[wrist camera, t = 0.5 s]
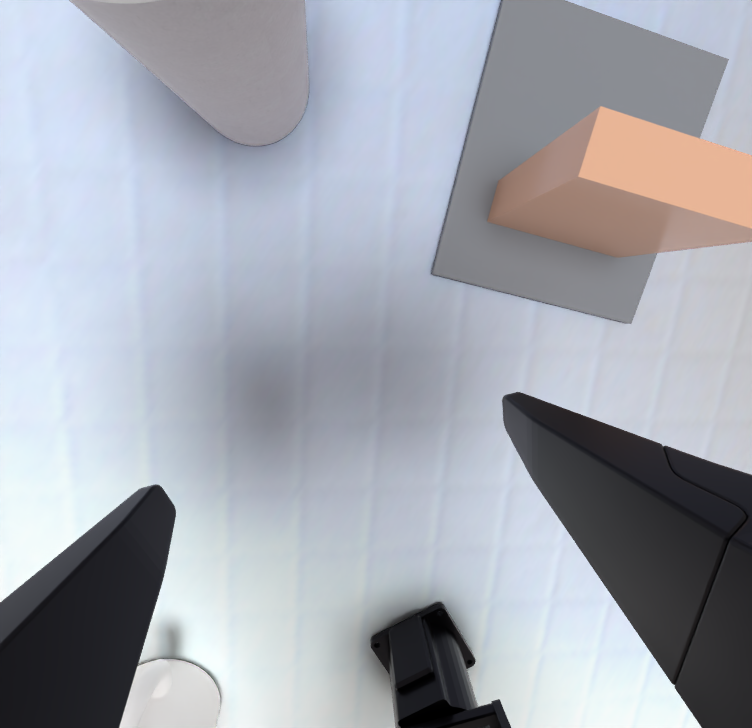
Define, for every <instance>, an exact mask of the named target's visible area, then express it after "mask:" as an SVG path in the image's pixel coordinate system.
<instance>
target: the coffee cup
mask: <svg viewBox="0 0 752 728" xmlns="http://www.w3.org/2000/svg"><path fill="white" fill-rule="evenodd" d="M69 1H71V2H72V3H73V4H74V5H75V6H76V7H77V8H79V9H80V10H81V11H82V12H83V13H84V14H85V15H87V16H88V17H89V18H90V19H91V20H92V21H93V22H95V23H96V24H97V25H98V26H99V27H100V28H101V29H103V30H104V31H105V32H106V33H107V34H108V35H109V36H110V37H112V38H113V39H114V40H115V41H116V42H117V43H118V44H120V45H121V46H122V47H123V48H124V49H125V50H126V51H127V52H129V53H130V54H131V55H132V56H133V57H134V58H135V59H137V60H138V61H139V62H140V63H141V64H142V65H143V66H144V67H146V68H147V69H148V70H149V71H150V72H151V73H152V74H153V75H155V76H156V77H157V78H158V79H159V80H160V81H161V82H162V83H164V84H165V85H166V86H167V87H168V88H169V89H170V90H172V91H173V92H174V93H175V94H176V95H177V96H178V97H179V98H181V99H182V100H183V101H184V102H185V103H186V104H187V105H188V106H190V107H191V108H192V109H193V110H194V111H195V112H196V113H197V114H199V115H200V116H201V117H202V118H203V119H204V120H205V121H206V122H207V123H209V124H210V125H211V126H212V127H213V128H214V129H215V130H217V131H218V132H219V133H220V134H222V135H223V136H225V137H226V138H228V139H230V140H232V141H234V142H237V143H240V144H243V145H249V146H263V145H269V144H272V143H275V142H277V141H279V140H281V139H283V138H284V137H286V136H287V135H288V134H289V133H291V132H292V131H293V130H294V128H295V127H296V126H297V125H298V123H299V122H300V120H301V118H302V116H303V114H304V112H305V109H306V106H307V102H308V96H309V72H308V52H307V33H306V13H305V0H69Z"/></svg>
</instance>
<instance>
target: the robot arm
mask: <svg viewBox="0 0 752 728" xmlns="http://www.w3.org/2000/svg"><path fill="white" fill-rule="evenodd" d="M502 404H503V421H504V426H505V429H506V431H507V433H508V435H509V437H510V438H511V440H512V442H513V444H514V446H515V448H516V450H517V452H518V454H519V455H520V457H521V459H522V461H523V463H524V465H525V467H526V469H527V471H528V472H529V474H530V476H531V478H532V479H533V481H534V483H535V484H536V486H537V487H538V489H539V490H540V492H541V493H542V495H543V496H544V497H545V499H546V500H547V502H548V503H549V505H550V506H551V508H552V509H553V511H554V512H555V514H556V515H557V516H558V518H559V519H560V521H561V522H562V524H563V525H564V527H565V528H566V530H567V531H568V532H569V534H570V535H571V537H572V538H573V540H574V541H575V543H576V544H577V546H578V547H579V549H580V550H581V551H582V553H583V554H584V556H585V557H586V559H587V560H588V562H589V563H590V565H591V566H592V567H593V569H594V570H595V572H596V573H597V575H598V576H599V578H600V579H601V581H602V582H603V584H604V585H605V586H606V588H607V589H608V591H609V592H610V594H611V595H612V597H613V598H614V600H615V601H616V603H617V604H618V605H619V607H620V608H621V610H622V611H623V613H624V614H625V616H626V617H627V619H628V620H629V621H630V623H631V624H632V626H633V627H634V629H635V630H636V632H637V633H638V635H639V636H640V638H641V639H642V640H643V642H644V643H645V645H646V646H647V648H648V649H649V651H650V652H651V654H652V655H653V656H654V658H655V659H656V661H657V662H658V664H659V665H660V667H661V668H662V670H663V671H664V673H665V674H666V675H667V677H668V678H669V680H670V681H671V683H672V684H674V685H675V689H676V690H677V692H678V693H679V695H680V696H681V698H682V699H683V701H684V702H685V704H686V705H687V707H688V708H689V709H690V711H691V712H692V714H693V715H694V717H695V718H696V720H697V721H698V723H699V724H700V726H701V727H702V728H752V475H750V474H747V473H744V472H741V471H738V470H735V469H732V468H728V467H725V466H722V465H719V464H716V463H713V462H710V461H707V460H704V459H702V458H699V457H696V456H693V455H690V454H687V453H684V452H682V451H679V450H676V449H674V448H671V447H668V446H662V444H660V443H657V442H654V441H652V440H649V439H646V438H643V437H641V436H638V435H635V434H632V433H630V432H627V431H624V430H622V429H619V428H616V427H613V426H611V425H608V424H605V423H602V422H600V421H597V420H594V419H592V418H589V417H586V416H583V415H581V414H578V413H575V412H572V411H570V410H567V409H564V408H562V407H559V406H556V405H553V404H551V403H548V402H545V401H542V400H540V399H537V398H534V397H532V396H529V395H526V394H523V393H520V392H516V393H512V394H508V395H505V396H504V397H503V400H502ZM175 517H176V510H175V506H174V505H173V503H172V502H171V500H170V499H169V497H168V496H167V494H166V493H165V491H164V490H163V488H162V487H161V486H159V485H152V486H148V487H144V488H141V489H139V490H138V491H136V492H135V493H134V494H133V495H131V496H130V497H129V498H128V499H127V500H125V501H124V502H123V503H122V504H120V505H119V506H118V507H117V508H116V509H114V510H113V511H112V512H111V513H109V514H108V515H107V516H106V517H105V518H103V519H102V520H101V521H100V522H98V523H97V524H96V525H95V526H94V527H92V528H91V529H90V530H89V531H87V532H86V533H85V534H84V535H83V536H81V537H80V538H79V539H78V540H76V541H75V542H74V543H73V544H71V545H70V546H69V547H68V548H67V549H65V550H64V551H63V552H62V553H60V554H59V555H58V556H57V557H56V558H54V559H53V560H52V561H51V562H49V563H48V564H47V565H46V566H45V567H43V568H42V569H41V570H40V571H38V572H37V573H36V574H35V575H34V576H32V577H31V578H30V579H29V580H27V581H26V582H25V583H24V584H23V585H21V586H20V587H19V588H18V589H16V590H15V591H14V592H13V593H11V594H10V595H9V596H8V597H7V598H5V599H4V600H3V601H2V602H0V728H119V727H120V723H121V720H122V717H123V713H124V710H125V707H126V703H127V700H128V696H129V693H130V690H131V686H132V683H133V680H134V676H135V673H136V669H137V666H138V663H139V659H140V656H141V653H142V649H143V646H144V642H145V639H146V636H147V632H148V629H149V626H150V622H151V619H152V615H153V612H154V609H155V605H156V602H157V599H158V595H159V592H160V588H161V585H162V581H163V578H164V573H165V569H166V564H167V559H168V554H169V549H170V543H171V538H172V533H173V528H174V523H175ZM438 611H440V612H438ZM371 648H372V649H373V651H374V652H375V654H376V655H377V657H378V658H379V660H380V661H381V663H382V664H383V666H384V667H385V669H386V670H387V671H388V673H389V674H390V679H391V689H392V698H393V708H394V717H395V727H396V728H511V726H510V724H509V721H508V719H507V717H506V714H505V712H504V709H503V707H502V704H501V702H500V700H499V699H498V700H495V701H491V702H492V703H491V704H487V705H484V706H480V707H478V705H477V701H476V698H475V695H474V692H473V688H472V685H471V682H470V679H469V675H468V672H467V669H468V668H470V667H472V666H473V665H474V664H475V658H474V655H473V653H472V651H471V650H470V648H469V646H468V645H467V643H466V641H465V640H464V638H463V636H462V635H461V633H460V631H459V630H458V628H457V626H456V625H455V623H454V621H453V620H452V618H451V616H450V615H449V613H448V611H447V610H446V608H445V606H444V605H443V604H436V605H434V606H432V607H430V608H428V609H426V610H424V611H422V612H420V613H418V614H416V615H414V616H412V617H410V618H408V619H406V620H404V621H402V622H400V623H398V624H396V625H394V626H392V627H391V628H389V629H387V630H385V631H383V632H381V633H379V634H377V635H375V636H373V637H372V638H371Z"/></svg>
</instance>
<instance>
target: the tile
mask: <svg viewBox="0 0 752 728" xmlns="http://www.w3.org/2000/svg"><path fill="white" fill-rule="evenodd" d="M487 222H490V223H493V224H497V225H500V226H504V227H508V228H511V229H515V230H519V231H522V232H526V233H530V234H533V235H537V236H540V237H544V238H548V239H551V240H555V241H559V242H562V243H566V244H570V245H573V246H577V247H580V248H584V249H588V250H591V251H595V252H599V253H602V254H606V255H610V256H613V257H617V258H619V257H628V256H636V255H644V254H653V253H661V252H669V251H678V250H686V249H694V248H703V247H711V246H719V245H728V244H736V243H744V242H752V155H749V154H746V153H742V152H739V151H736V150H733V149H730V148H727V147H724V146H721V145H718V144H715V143H712V142H709V141H706V140H703V139H700V138H697V137H694V136H691V135H688V134H684V133H681V132H678V131H675V130H672V129H669V128H666V127H663V126H660V125H657V124H654V123H651V122H648V121H645V120H642V119H639V118H636V117H633V116H629V115H626V114H623V113H620V112H617V111H614V110H611V109H608V108H605V107H602V106H600V107H598V108H597V109H596V110H594V111H593V112H592V113H590V114H589V115H588V116H586V117H585V118H583V119H582V120H581V121H579V122H578V123H577V124H575V125H574V126H573V127H571V128H570V129H569V130H567V131H566V132H564V133H563V134H562V135H560V136H559V137H558V138H556V139H555V140H554V141H552V142H551V143H549V144H548V145H547V146H545V147H544V148H543V149H541V150H540V151H539V152H537V153H536V154H534V155H533V156H532V157H530V158H529V159H528V160H526V161H525V162H524V163H522V164H521V165H519V166H518V167H517V168H515V169H514V170H513V171H511V172H510V173H509V174H507V175H506V176H504V177H503V178H502V179H500V180H499V181H498V184H497V188H496V192H495V195H494V199H493V202H492V206H491V209H490V213H489V217H488V220H487Z"/></svg>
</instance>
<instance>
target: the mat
mask: <svg viewBox="0 0 752 728" xmlns="http://www.w3.org/2000/svg"><path fill="white" fill-rule="evenodd" d="M728 60H729V59H726V58H723V57H721V56H718V55H715V54H712V53H709V52H707V51H704V50H701V49H698V48H696V47H693V46H690V45H687V44H684V43H682V42H679V41H676V40H673V39H671V38H668V37H665V36H662V35H660V34H657V33H654V32H651V31H648V30H646V29H643V28H640V27H637V26H635V25H632V24H629V23H626V22H623V21H621V20H618V19H615V18H612V17H610V16H607V15H604V14H601V13H598V12H596V11H593V10H590V9H587V8H585V7H582V6H579V5H576V4H574V3H571V2H568V1H565V0H501V4H500V8H499V12H498V16H497V20H496V23H495V27H494V31H493V35H492V39H491V43H490V47H489V51H488V55H487V58H486V62H485V66H484V70H483V74H482V78H481V82H480V86H479V90H478V93H477V97H476V101H475V105H474V109H473V113H472V117H471V121H470V124H469V128H468V132H467V136H466V140H465V144H464V148H463V152H462V156H461V159H460V163H459V167H458V171H457V175H456V179H455V183H454V187H453V191H452V194H451V198H450V202H449V206H448V210H447V214H446V218H445V222H444V225H443V229H442V233H441V237H440V241H439V245H438V249H437V253H436V257H435V260H434V264H433V268H432V272H431V274H433V275H436V276H440V277H444V278H448V279H452V280H456V281H460V282H464V283H468V284H472V285H476V286H480V287H484V288H488V289H492V290H496V291H500V292H504V293H508V294H512V295H516V296H520V297H524V298H528V299H532V300H536V301H540V302H543V303H547V304H551V305H555V306H559V307H563V308H567V309H571V310H575V311H579V312H583V313H587V314H591V315H595V316H599V317H603V318H607V319H611V320H615V321H619V322H623V323H628V324H631V323H632V320H633V318H634V315H635V312H636V310H637V307H638V304H639V301H640V299H641V296H642V293H643V290H644V288H645V285H646V282H647V280H648V277H649V274H650V271H651V269H652V266H653V263H654V261H655V258H656V255H657V253H653V254H644V255H636V256H628V257H619V258H617V257H613V256H610V255H606V254H602V253H599V252H595V251H591V250H588V249H584V248H580V247H577V246H573V245H570V244H566V243H562V242H559V241H555V240H551V239H548V238H544V237H540V236H537V235H533V234H530V233H526V232H522V231H519V230H515V229H511V228H508V227H504V226H500V225H497V224H493V223H490V222H487V220H488V217H489V213H490V209H491V206H492V202H493V199H494V195H495V192H496V188H497V184H498V181H499V180H500V179H502V178H503V177H504V176H506V175H507V174H509V173H510V172H511V171H513V170H514V169H515V168H517V167H518V166H519V165H521V164H522V163H524V162H525V161H526V160H528V159H529V158H530V157H532V156H533V155H534V154H536V153H537V152H539V151H540V150H541V149H543V148H544V147H545V146H547V145H548V144H549V143H551V142H552V141H554V140H555V139H556V138H558V137H559V136H560V135H562V134H563V133H564V132H566V131H567V130H569V129H570V128H571V127H573V126H574V125H575V124H577V123H578V122H579V121H581V120H582V119H583V118H585V117H586V116H588V115H589V114H590V113H592V112H593V111H594V110H596V109H597V108H598V107H600V106H602V107H605V108H608V109H611V110H614V111H617V112H620V113H623V114H626V115H629V116H633V117H636V118H639V119H642V120H645V121H648V122H651V123H654V124H657V125H660V126H663V127H666V128H669V129H672V130H675V131H678V132H681V133H684V134H688V135H691V136H694V137H697V138H700V136H701V133H702V130H703V128H704V125H705V122H706V119H707V117H708V114H709V111H710V108H711V106H712V103H713V100H714V98H715V95H716V92H717V89H718V87H719V84H720V81H721V79H722V76H723V73H724V70H725V68H726V65H727V62H728Z"/></svg>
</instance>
